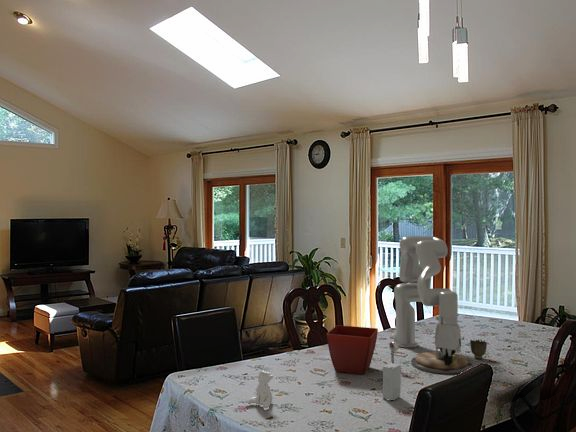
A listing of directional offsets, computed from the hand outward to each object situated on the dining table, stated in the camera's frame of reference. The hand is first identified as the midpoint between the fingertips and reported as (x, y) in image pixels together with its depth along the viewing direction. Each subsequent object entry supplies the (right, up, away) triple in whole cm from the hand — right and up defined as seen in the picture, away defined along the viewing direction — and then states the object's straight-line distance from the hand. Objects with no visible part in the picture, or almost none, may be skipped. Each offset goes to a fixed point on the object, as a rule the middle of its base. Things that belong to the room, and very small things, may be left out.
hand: (448, 364), depth 219 cm
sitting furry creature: (-77, -5, -35) cm, 84 cm away
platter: (+1, -3, +13) cm, 13 cm away
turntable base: (+1, -4, +13) cm, 13 cm away
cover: (+2, -1, +13) cm, 13 cm away
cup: (+21, -4, +24) cm, 32 cm away
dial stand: (-22, -4, +9) cm, 24 cm away
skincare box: (-30, -5, -29) cm, 41 cm away
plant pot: (-39, -4, +7) cm, 40 cm away
